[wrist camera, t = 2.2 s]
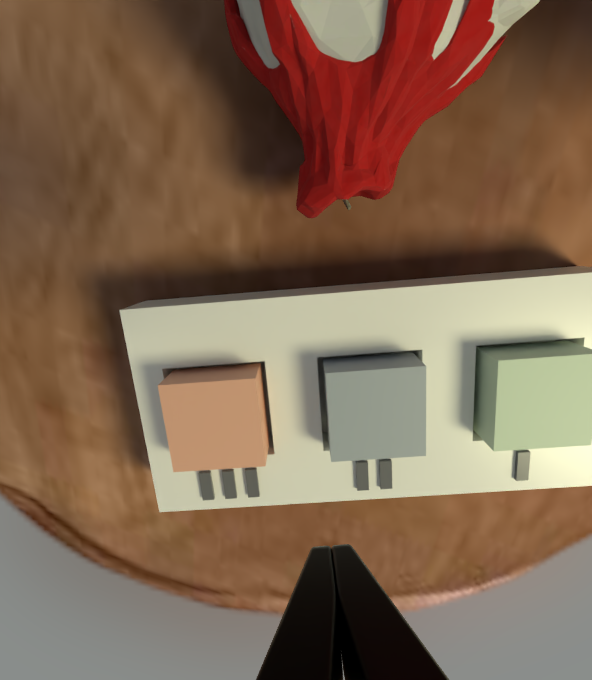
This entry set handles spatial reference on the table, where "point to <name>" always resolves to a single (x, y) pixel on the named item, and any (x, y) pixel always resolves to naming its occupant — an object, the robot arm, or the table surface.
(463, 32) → the red irregular piece
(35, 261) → the table surface
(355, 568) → the robot arm
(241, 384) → the terracotta tile
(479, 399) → the sage tile
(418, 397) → the slate tile
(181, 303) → the button board
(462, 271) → the table surface
